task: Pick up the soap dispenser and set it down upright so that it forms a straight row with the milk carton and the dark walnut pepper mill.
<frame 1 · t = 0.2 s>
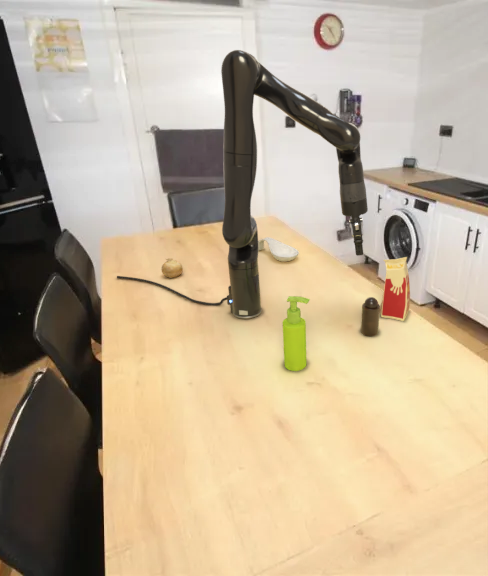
hand: (358, 249, 124), 23 cm above the table, tool pointing down, fingers open, 8 cm apart
onion: (173, 276, 163), on the table
soap dispenser: (297, 365, 109), on the table
milk carton: (393, 313, 135), on the table
pepper mill: (369, 331, 124), on the table
spoon rest: (276, 256, 182), on the table
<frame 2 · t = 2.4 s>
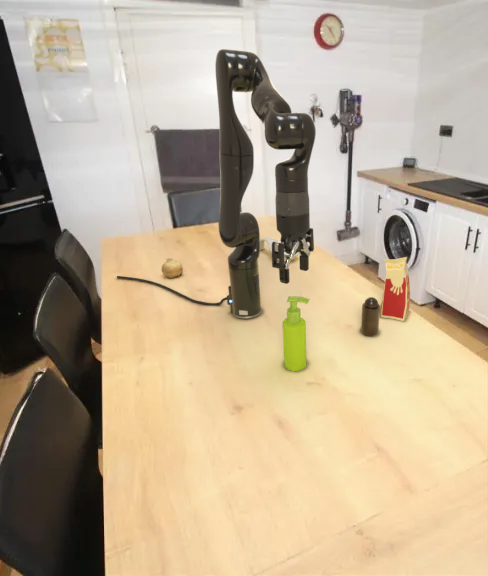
hand: (294, 276, 98), 26 cm above the table, tool pointing down, fingers open, 8 cm apart
nothing on the table moved.
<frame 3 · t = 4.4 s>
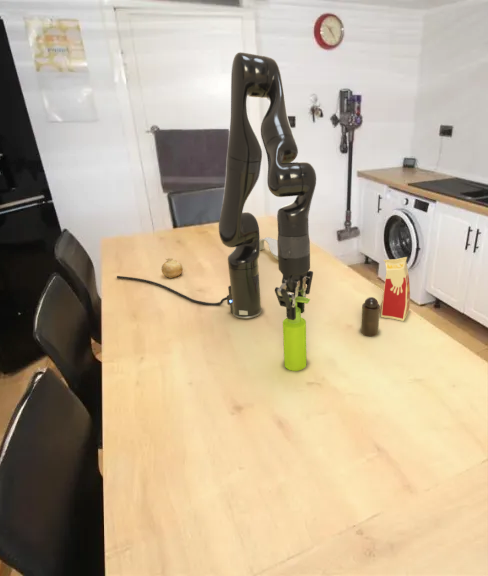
hand: (295, 315, 103), 15 cm above the table, tool pointing down, fingers closed on soap dispenser, 3 cm apart
soap dispenser: (297, 365, 109), on the table, touching gripper
everything else where it was.
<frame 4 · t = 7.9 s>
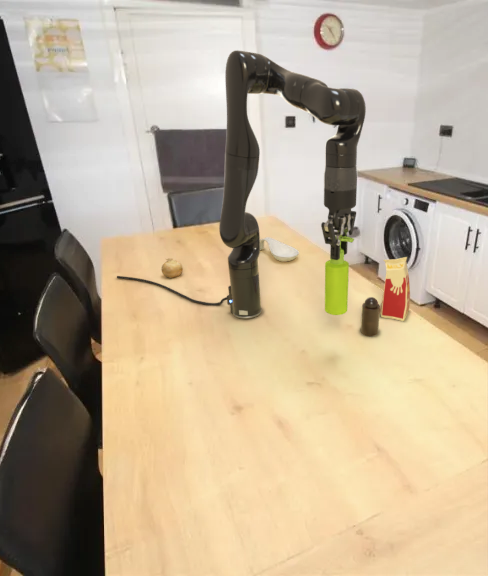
hand: (338, 256, 100), 29 cm above the table, tool pointing down, fingers closed on soap dispenser, 3 cm apart
soap dispenser: (338, 310, 107), point 14 cm above the table, touching gripper
everything else where it was.
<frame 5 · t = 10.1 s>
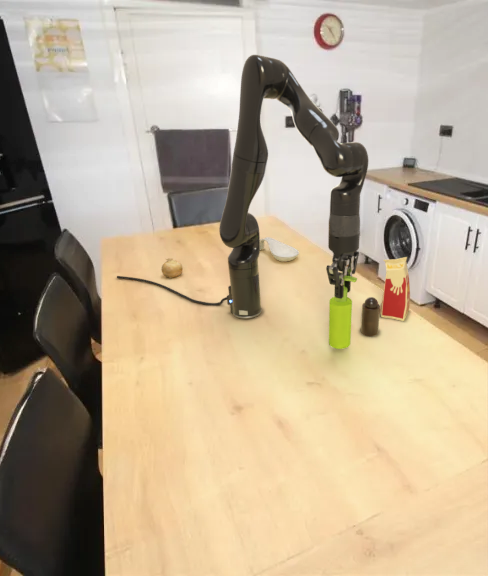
hand: (342, 294, 106), 19 cm above the table, tool pointing down, fingers closed on soap dispenser, 3 cm apart
soap dispenser: (341, 343, 112), point 3 cm above the table, touching gripper
everything else where it was.
when the fingers open (15 cm above the table, at t = 11.3 s): soap dispenser stays where it is, on the table.
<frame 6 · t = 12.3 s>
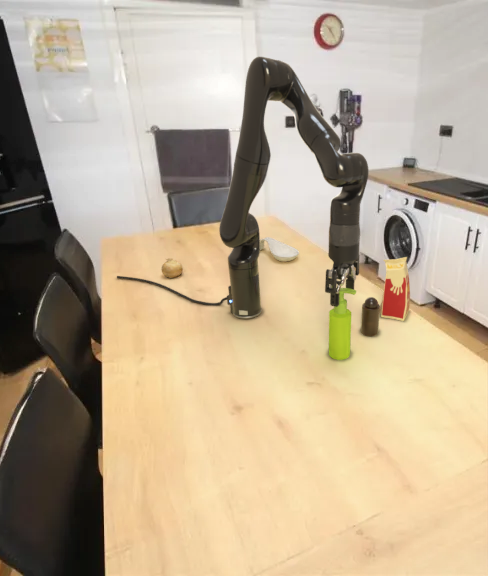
hand: (342, 299, 106), 17 cm above the table, tool pointing down, fingers open, 8 cm apart
soap dispenser: (341, 354, 114), on the table
everything else where it was.
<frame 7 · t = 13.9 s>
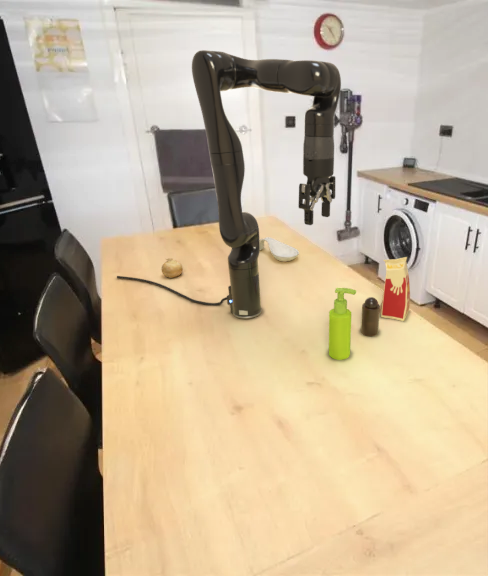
hand: (317, 220, 106), 36 cm above the table, tool pointing down, fingers open, 8 cm apart
nothing on the table moved.
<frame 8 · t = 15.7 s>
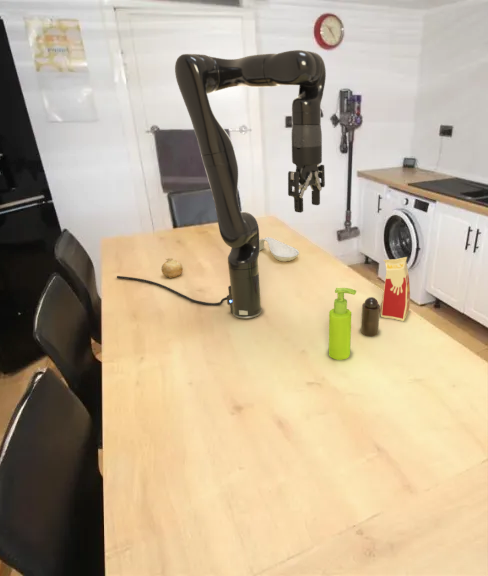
hand: (307, 208, 108), 38 cm above the table, tool pointing down, fingers open, 8 cm apart
nothing on the table moved.
at the end: soap dispenser 0.3 cm from the target spot on the table beside the pepper mill, on the table; soap dispenser 0.3 cm from the target spot on the table beside the milk carton, on the table; soap dispenser tilted 0° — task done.
